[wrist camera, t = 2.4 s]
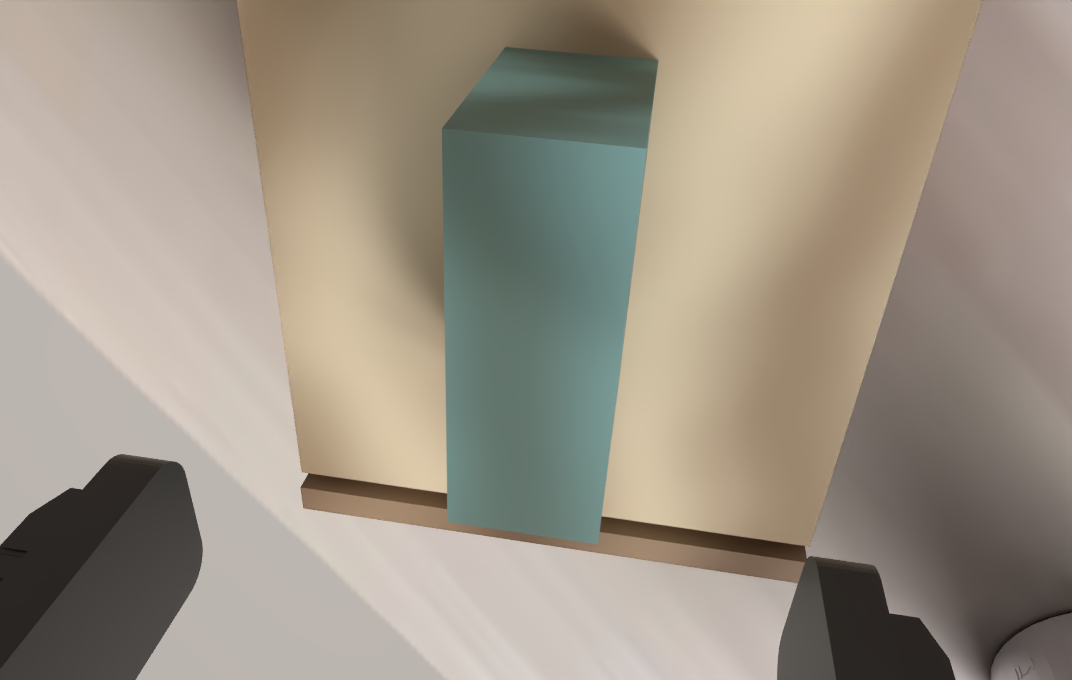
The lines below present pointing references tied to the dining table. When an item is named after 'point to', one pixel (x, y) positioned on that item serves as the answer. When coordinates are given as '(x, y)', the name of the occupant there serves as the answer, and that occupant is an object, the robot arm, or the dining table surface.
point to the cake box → (613, 539)
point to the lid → (592, 243)
